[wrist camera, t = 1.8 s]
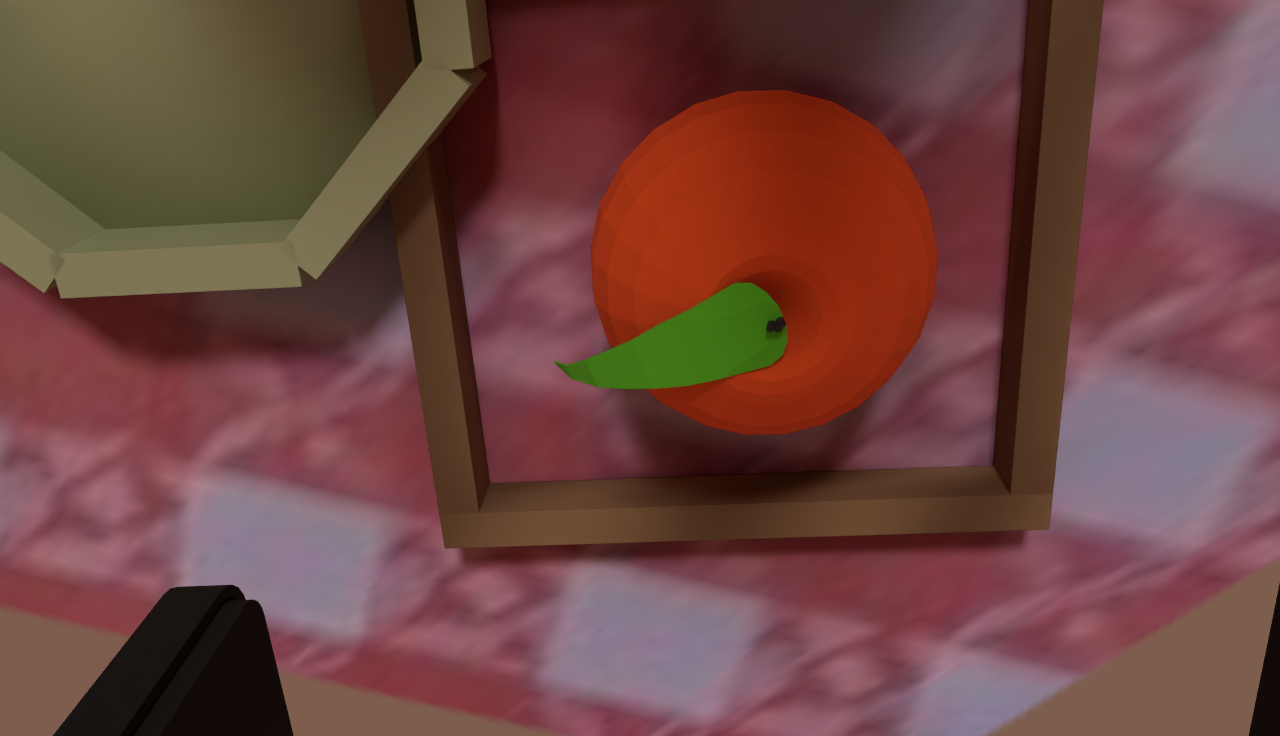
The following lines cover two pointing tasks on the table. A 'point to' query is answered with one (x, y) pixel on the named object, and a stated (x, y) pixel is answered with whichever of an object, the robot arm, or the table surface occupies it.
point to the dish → (207, 137)
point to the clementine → (760, 264)
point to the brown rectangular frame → (778, 500)
